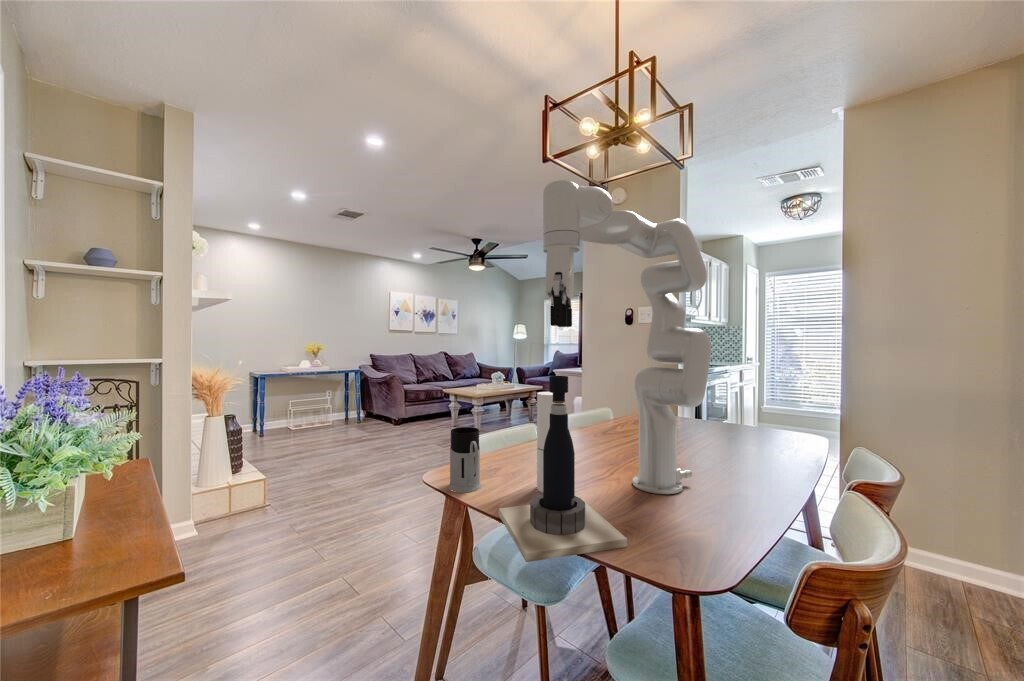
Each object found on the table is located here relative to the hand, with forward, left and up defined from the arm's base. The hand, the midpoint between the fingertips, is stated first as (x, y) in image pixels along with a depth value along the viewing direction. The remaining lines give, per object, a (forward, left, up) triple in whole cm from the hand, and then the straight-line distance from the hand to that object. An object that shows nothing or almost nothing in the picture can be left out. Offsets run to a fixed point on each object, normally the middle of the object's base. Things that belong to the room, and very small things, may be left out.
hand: (561, 326), depth 85 cm
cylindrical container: (-6, -21, -42) cm, 47 cm away
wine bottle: (+1, +1, -41) cm, 41 cm away
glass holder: (+15, -26, -42) cm, 52 cm away
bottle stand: (+1, +1, -42) cm, 42 cm away
